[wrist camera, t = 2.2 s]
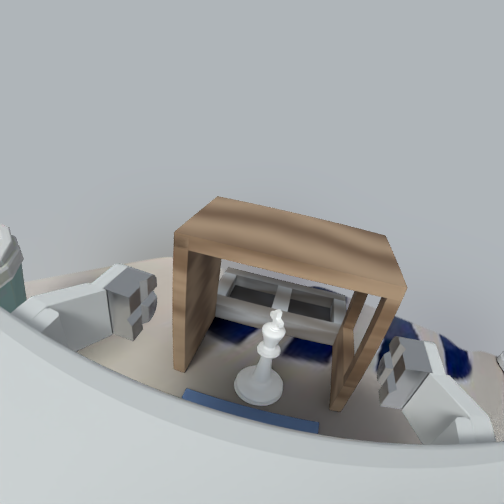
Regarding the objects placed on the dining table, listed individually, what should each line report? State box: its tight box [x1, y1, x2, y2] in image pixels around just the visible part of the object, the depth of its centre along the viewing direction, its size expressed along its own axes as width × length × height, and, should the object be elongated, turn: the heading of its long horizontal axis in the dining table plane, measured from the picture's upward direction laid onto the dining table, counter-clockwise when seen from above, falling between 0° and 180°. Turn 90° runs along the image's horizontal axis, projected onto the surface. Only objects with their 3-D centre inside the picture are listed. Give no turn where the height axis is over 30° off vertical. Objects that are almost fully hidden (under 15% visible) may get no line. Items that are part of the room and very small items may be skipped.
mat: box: [182, 388, 319, 434], centre depth 22 cm, size 9×13×1 cm
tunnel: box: [173, 196, 407, 412], centre depth 33 cm, size 19×17×15 cm
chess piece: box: [234, 309, 286, 406], centre depth 27 cm, size 5×5×10 cm
